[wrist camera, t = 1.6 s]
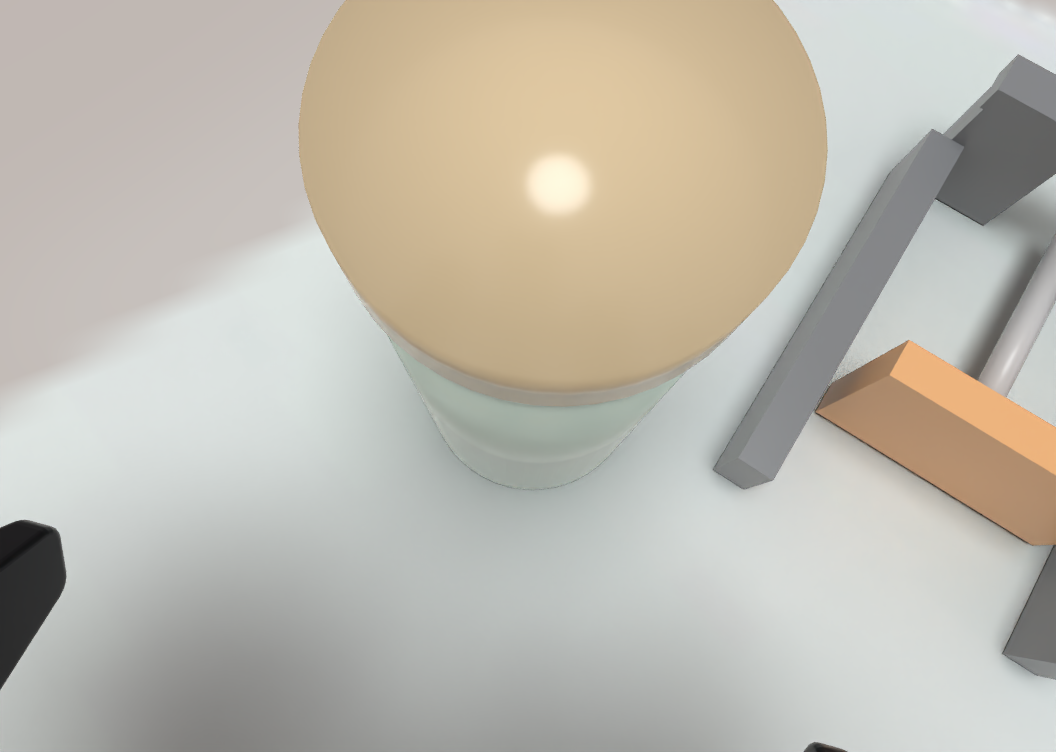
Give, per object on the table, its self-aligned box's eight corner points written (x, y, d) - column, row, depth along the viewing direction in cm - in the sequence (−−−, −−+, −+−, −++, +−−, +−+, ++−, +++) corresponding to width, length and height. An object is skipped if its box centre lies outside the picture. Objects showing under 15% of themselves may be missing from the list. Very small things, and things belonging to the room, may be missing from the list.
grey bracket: (1036, 675, 21) (1186, 707, 16) (713, 469, 22) (767, 444, 17) (1205, 311, 24) (1377, 249, 19) (907, 142, 25) (1000, 44, 20)
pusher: (1032, 545, 22) (1164, 541, 17) (815, 411, 22) (889, 374, 18) (1144, 313, 23) (1291, 256, 19) (938, 196, 24) (1034, 114, 20)
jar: (594, 525, 22) (735, 463, 8) (394, 447, 22) (205, 261, 8) (665, 331, 23) (886, -4, 9) (474, 260, 23) (423, -161, 10)
